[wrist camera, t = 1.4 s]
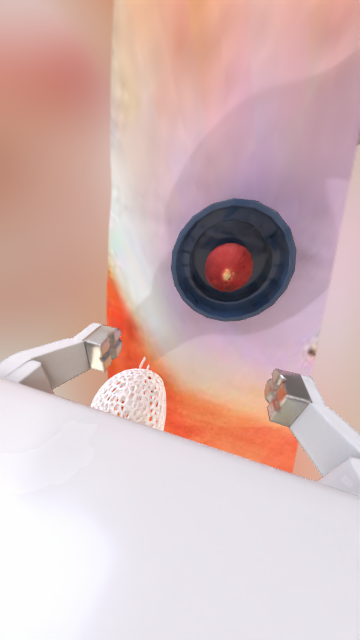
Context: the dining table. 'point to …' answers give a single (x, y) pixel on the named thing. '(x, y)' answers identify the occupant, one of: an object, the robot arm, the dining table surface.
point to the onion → (228, 267)
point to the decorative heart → (136, 405)
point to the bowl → (244, 229)
